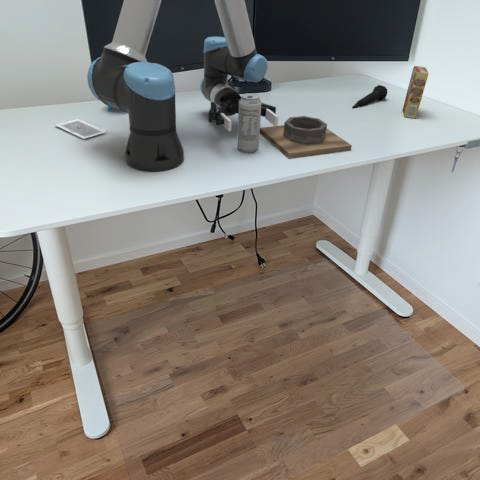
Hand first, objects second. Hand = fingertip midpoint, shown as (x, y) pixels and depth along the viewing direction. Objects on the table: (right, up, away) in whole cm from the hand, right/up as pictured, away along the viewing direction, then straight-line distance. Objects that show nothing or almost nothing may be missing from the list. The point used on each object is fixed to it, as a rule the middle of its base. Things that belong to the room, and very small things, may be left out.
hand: (253, 123), depth 122 cm
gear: (-44, +12, +31) cm, 55 cm away
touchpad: (-51, +1, +14) cm, 53 cm away
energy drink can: (-2, -6, +7) cm, 9 cm away
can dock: (+15, -2, +14) cm, 21 cm away
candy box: (+56, +13, +38) cm, 69 cm away
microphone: (+43, +20, +48) cm, 68 cm away
